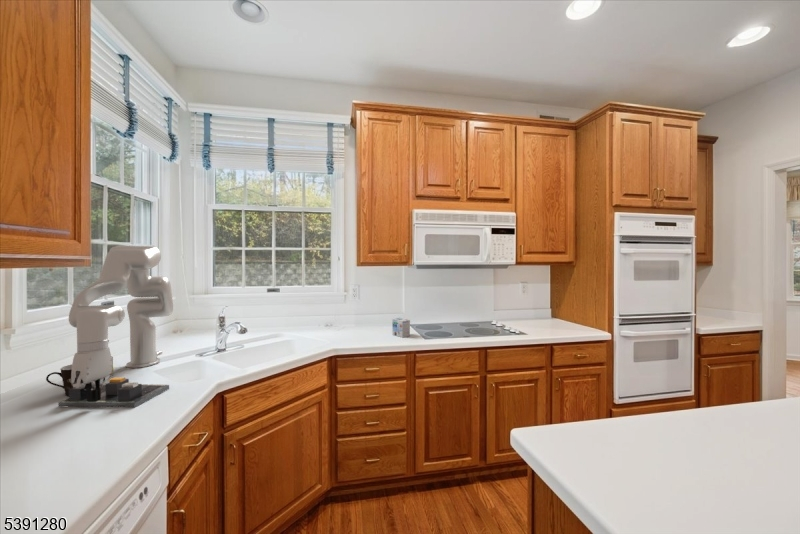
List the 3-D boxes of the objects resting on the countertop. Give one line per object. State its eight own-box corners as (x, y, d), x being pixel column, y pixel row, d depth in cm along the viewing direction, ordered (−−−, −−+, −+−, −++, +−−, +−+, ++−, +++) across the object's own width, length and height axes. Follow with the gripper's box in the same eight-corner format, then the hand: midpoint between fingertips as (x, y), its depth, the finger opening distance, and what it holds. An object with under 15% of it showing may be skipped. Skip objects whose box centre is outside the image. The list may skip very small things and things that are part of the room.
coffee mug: (99, 387, 127) (98, 361, 127) (81, 396, 118) (81, 369, 118) (64, 389, 125) (64, 363, 125) (44, 398, 116) (43, 370, 116)
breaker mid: (118, 389, 120) (117, 376, 120) (128, 389, 120) (128, 376, 120) (105, 395, 115) (105, 381, 115) (116, 395, 115) (116, 381, 115)
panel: (102, 388, 126) (102, 371, 126) (169, 388, 125) (169, 371, 125) (58, 406, 110) (58, 387, 110) (134, 407, 109) (134, 387, 109)
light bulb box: (392, 334, 217) (392, 318, 217) (399, 333, 222) (399, 317, 221) (402, 337, 209) (402, 321, 209) (410, 336, 214) (410, 319, 213)
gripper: (102, 340, 116) (103, 391, 116) (57, 352, 101) (59, 411, 101) (123, 340, 116) (124, 391, 116) (81, 352, 101) (82, 411, 101)
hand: (93, 400), depth 109 cm, fingers closed
